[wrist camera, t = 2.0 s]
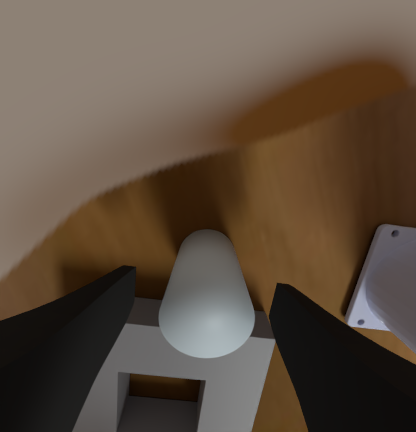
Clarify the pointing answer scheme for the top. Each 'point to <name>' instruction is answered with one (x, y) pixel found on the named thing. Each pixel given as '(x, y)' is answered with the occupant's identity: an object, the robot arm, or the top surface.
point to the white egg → (206, 298)
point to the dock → (179, 368)
